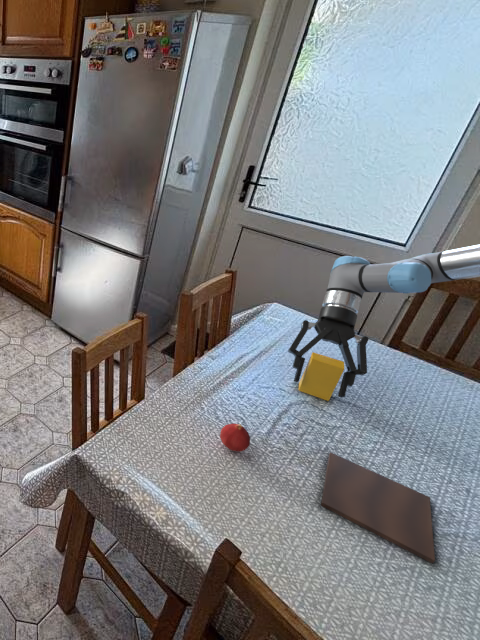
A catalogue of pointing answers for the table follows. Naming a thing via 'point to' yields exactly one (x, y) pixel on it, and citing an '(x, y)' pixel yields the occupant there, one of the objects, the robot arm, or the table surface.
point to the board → (379, 506)
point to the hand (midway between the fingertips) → (318, 388)
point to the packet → (321, 376)
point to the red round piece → (235, 437)
